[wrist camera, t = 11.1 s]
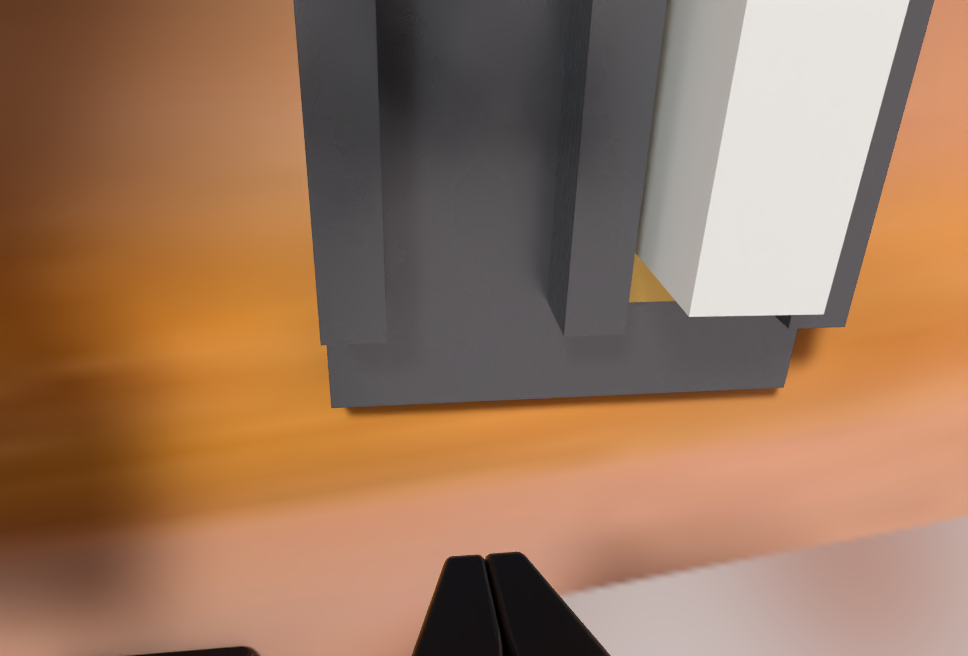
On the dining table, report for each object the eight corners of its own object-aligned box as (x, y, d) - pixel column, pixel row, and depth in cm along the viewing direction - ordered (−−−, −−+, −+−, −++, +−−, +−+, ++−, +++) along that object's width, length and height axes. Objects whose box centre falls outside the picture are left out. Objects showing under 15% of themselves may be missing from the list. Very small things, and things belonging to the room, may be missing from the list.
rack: (767, 370, 23) (819, 426, 20) (333, 388, 21) (327, 452, 19) (920, -296, 16) (1031, -344, 13) (280, -346, 14) (257, -412, 11)
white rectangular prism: (742, 247, 20) (823, 314, 16) (631, 247, 19) (689, 316, 16) (806, -56, 16) (924, -55, 13) (674, -62, 16) (758, -63, 12)
